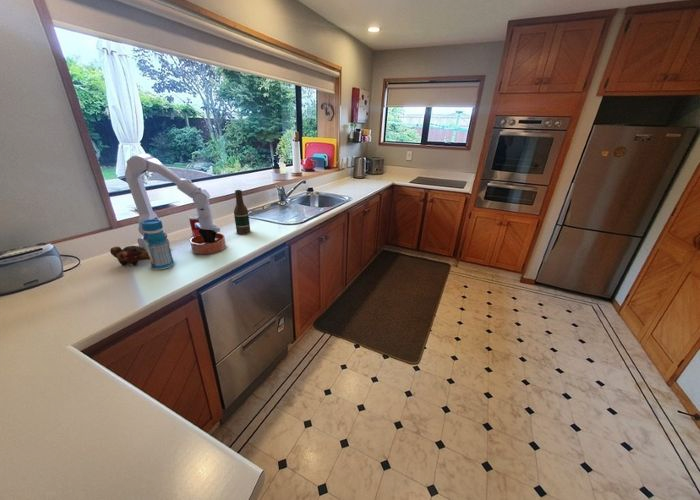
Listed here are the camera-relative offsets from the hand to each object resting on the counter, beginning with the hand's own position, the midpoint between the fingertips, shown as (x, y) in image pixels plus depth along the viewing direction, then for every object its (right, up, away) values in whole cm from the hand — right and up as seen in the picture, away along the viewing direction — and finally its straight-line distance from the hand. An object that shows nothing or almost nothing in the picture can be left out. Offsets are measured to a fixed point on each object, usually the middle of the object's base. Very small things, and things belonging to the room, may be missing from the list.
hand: (210, 243), depth 136 cm
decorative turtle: (-25, -9, -15) cm, 31 cm away
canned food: (-13, +4, +16) cm, 22 cm away
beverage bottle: (-12, -10, -16) cm, 23 cm away
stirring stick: (0, -1, +1) cm, 1 cm away
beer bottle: (+8, +7, +23) cm, 25 cm away
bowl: (-1, -3, +1) cm, 3 cm away
